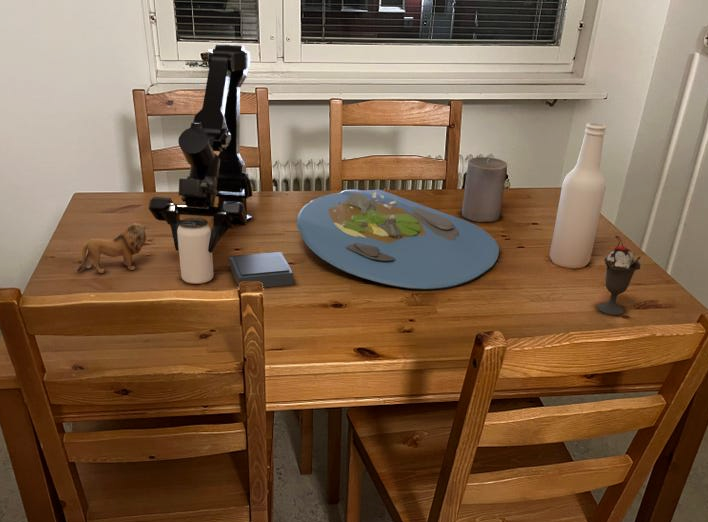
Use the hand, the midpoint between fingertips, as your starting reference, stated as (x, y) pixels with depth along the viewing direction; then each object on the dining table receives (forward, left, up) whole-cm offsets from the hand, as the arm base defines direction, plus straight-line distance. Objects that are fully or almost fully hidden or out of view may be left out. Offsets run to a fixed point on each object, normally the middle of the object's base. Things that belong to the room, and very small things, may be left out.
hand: (193, 250), depth 146 cm
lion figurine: (+6, -17, -7) cm, 20 cm away
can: (-1, -1, -7) cm, 7 cm away
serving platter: (-42, +21, -7) cm, 47 cm away
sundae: (-45, +70, -7) cm, 83 cm away
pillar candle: (-74, +25, -7) cm, 78 cm away
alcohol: (-62, +54, -7) cm, 82 cm away
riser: (-10, +8, -7) cm, 15 cm away
